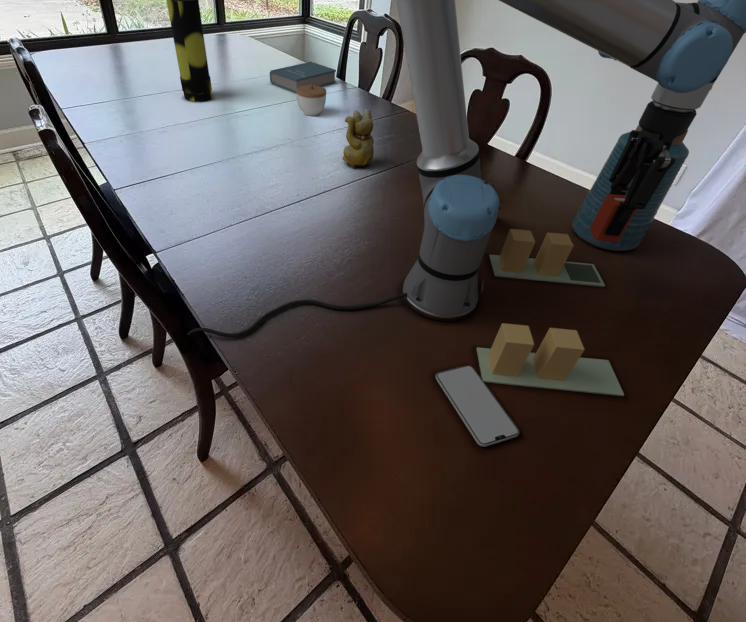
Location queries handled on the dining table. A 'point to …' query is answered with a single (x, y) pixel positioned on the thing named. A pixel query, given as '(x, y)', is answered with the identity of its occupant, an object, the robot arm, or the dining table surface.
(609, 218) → the red slotted block
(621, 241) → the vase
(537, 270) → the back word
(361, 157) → the decorative figurine
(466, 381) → the smartphone
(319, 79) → the book
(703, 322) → the dining table surface
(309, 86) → the trinket box
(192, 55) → the container
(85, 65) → the dining table surface
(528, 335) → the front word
